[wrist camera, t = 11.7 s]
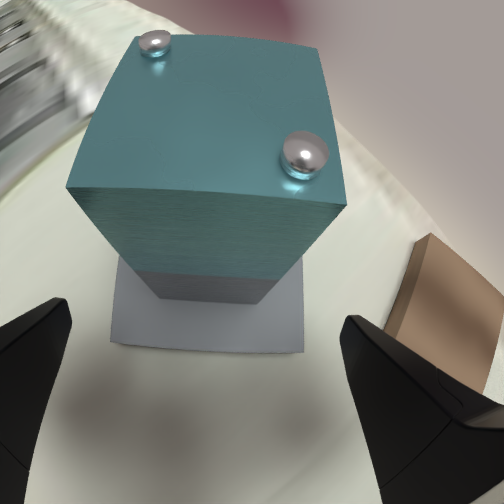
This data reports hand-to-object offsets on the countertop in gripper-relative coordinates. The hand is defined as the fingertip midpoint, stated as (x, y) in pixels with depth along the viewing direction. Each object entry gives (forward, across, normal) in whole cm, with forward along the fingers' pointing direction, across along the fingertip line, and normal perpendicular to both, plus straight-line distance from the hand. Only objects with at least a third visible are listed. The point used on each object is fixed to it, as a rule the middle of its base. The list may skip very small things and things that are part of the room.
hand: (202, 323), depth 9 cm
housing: (+7, 0, +1) cm, 7 cm away
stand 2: (+6, -17, +6) cm, 19 cm away
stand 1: (+9, 0, +3) cm, 9 cm away
